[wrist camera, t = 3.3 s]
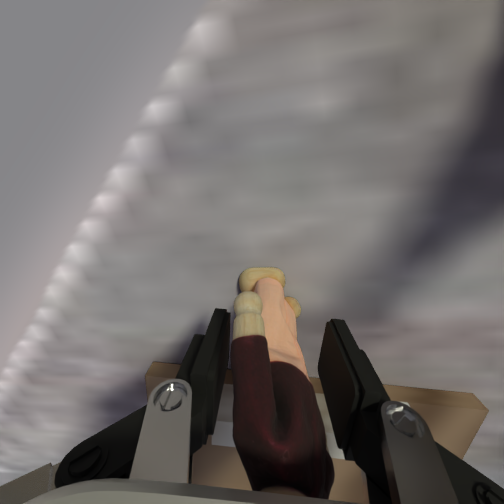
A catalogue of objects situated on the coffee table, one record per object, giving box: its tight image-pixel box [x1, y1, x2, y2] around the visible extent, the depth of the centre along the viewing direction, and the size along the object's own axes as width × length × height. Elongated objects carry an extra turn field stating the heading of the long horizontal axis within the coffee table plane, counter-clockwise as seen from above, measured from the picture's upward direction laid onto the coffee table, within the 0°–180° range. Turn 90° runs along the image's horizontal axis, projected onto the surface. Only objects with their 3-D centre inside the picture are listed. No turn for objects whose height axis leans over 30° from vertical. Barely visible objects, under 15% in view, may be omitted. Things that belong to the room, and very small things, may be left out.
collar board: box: [145, 362, 489, 504], centre depth 17 cm, size 22×15×4 cm
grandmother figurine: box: [230, 267, 335, 500], centre depth 8 cm, size 8×4×13 cm, turn 36°
